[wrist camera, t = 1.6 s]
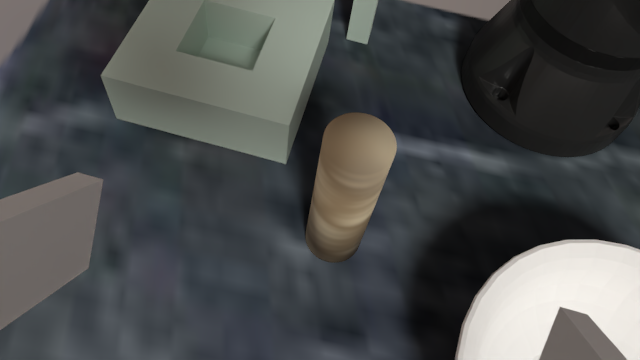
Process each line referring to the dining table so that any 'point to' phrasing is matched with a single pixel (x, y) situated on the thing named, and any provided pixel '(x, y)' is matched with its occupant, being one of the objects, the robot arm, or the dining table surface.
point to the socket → (226, 68)
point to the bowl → (554, 299)
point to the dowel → (348, 183)
